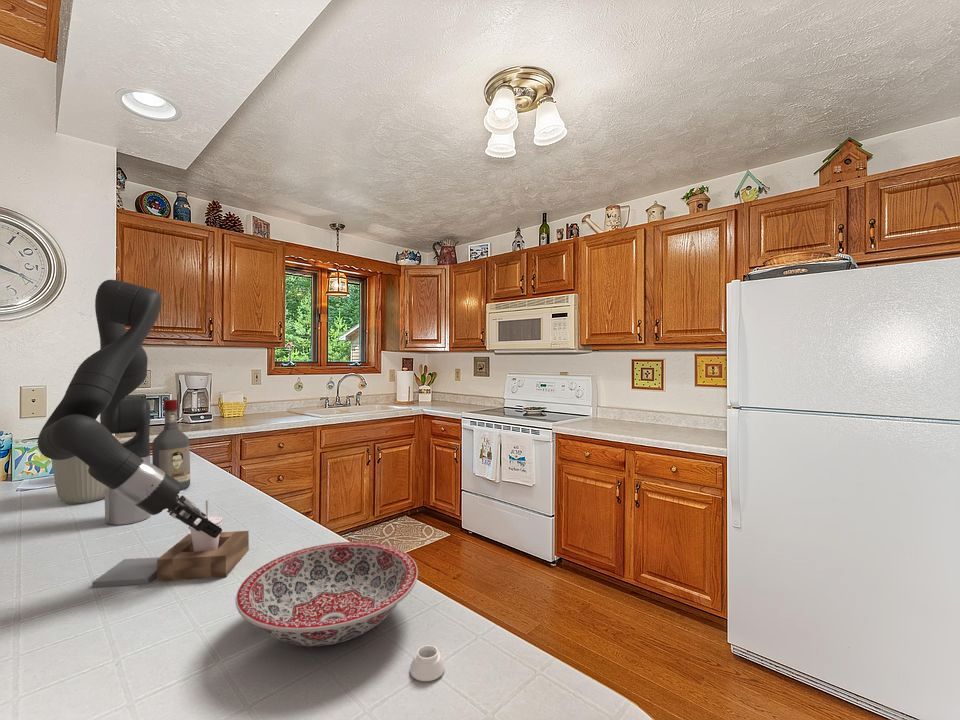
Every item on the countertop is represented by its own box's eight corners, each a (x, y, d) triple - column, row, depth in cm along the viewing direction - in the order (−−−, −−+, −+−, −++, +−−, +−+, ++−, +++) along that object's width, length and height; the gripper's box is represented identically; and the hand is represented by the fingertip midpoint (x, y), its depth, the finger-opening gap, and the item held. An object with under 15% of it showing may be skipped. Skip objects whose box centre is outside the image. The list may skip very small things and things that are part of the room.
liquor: (150, 490, 153) (149, 400, 152) (180, 483, 160) (179, 398, 160) (162, 495, 148) (160, 402, 147) (192, 488, 155) (191, 399, 155)
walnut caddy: (157, 581, 92) (156, 559, 92) (188, 553, 105) (188, 534, 105) (226, 577, 94) (225, 555, 94) (248, 549, 107) (248, 530, 107)
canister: (134, 496, 147) (133, 430, 146) (60, 513, 132) (58, 440, 131) (111, 487, 157) (109, 425, 156) (39, 501, 141) (38, 433, 141)
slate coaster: (92, 587, 90) (92, 582, 90) (124, 563, 100) (124, 559, 100) (147, 583, 92) (147, 578, 92) (173, 560, 102) (173, 556, 102)
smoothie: (229, 558, 103) (228, 496, 102) (210, 572, 96) (209, 506, 96) (202, 557, 103) (202, 495, 103) (181, 571, 97) (180, 505, 97)
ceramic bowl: (191, 657, 70) (190, 605, 70) (319, 570, 97) (319, 533, 97) (352, 708, 60) (352, 648, 59) (445, 595, 87) (445, 554, 87)
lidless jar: (408, 685, 64) (444, 683, 64) (408, 664, 64) (444, 662, 64) (411, 661, 69) (444, 659, 69) (411, 641, 69) (444, 640, 69)
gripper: (170, 478, 89) (237, 523, 97) (157, 465, 99) (219, 506, 108) (136, 512, 85) (209, 555, 94) (127, 494, 96) (193, 534, 104)
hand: (214, 528), depth 101 cm, fingers open, 6 cm apart
